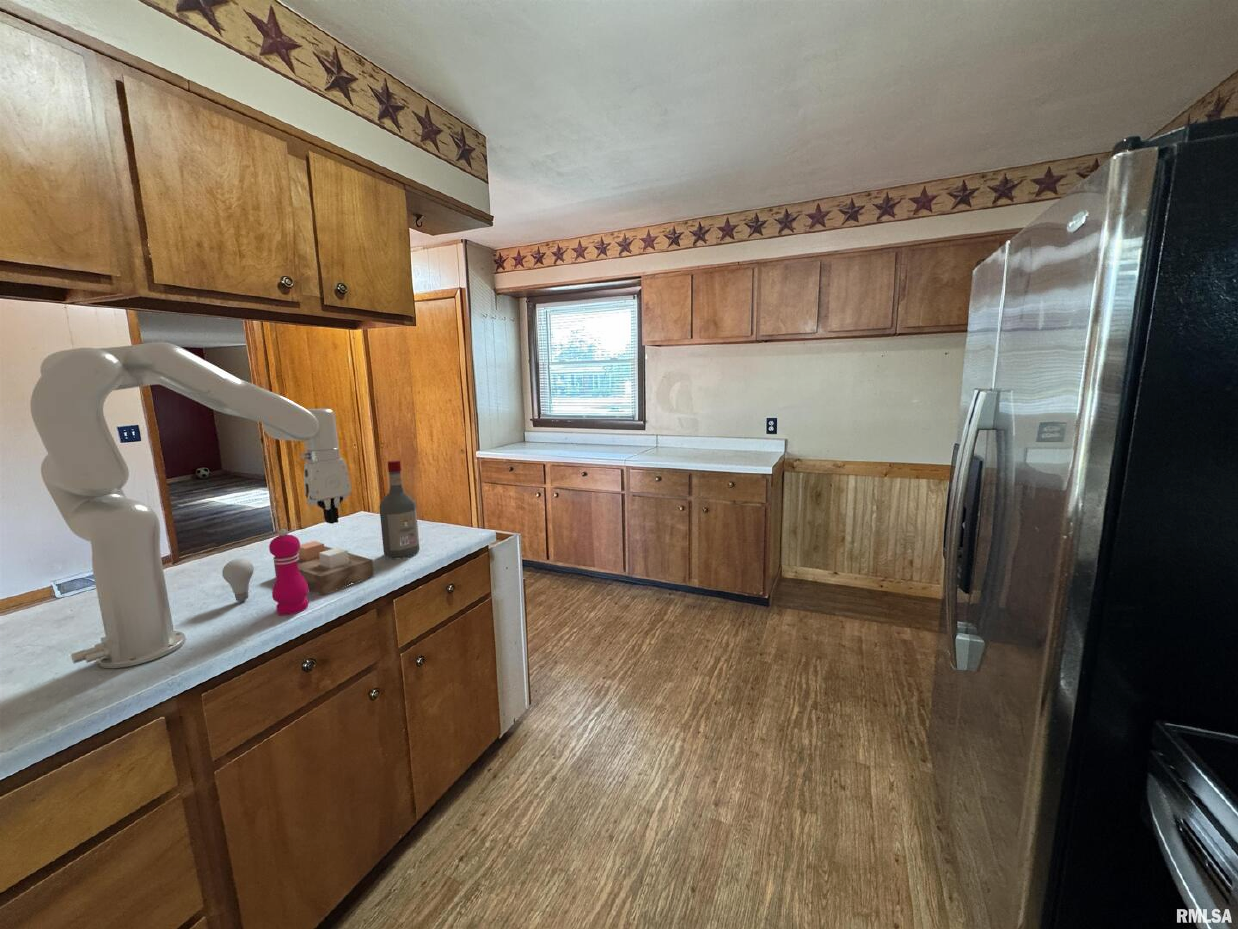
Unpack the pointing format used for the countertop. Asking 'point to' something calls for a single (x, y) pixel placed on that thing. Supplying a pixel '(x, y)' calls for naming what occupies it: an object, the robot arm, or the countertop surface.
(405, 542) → the liquor
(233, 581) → the lightbulb
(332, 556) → the white cube
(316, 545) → the orange cube
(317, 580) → the block
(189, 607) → the countertop surface
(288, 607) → the pepper mill
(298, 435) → the robot arm
